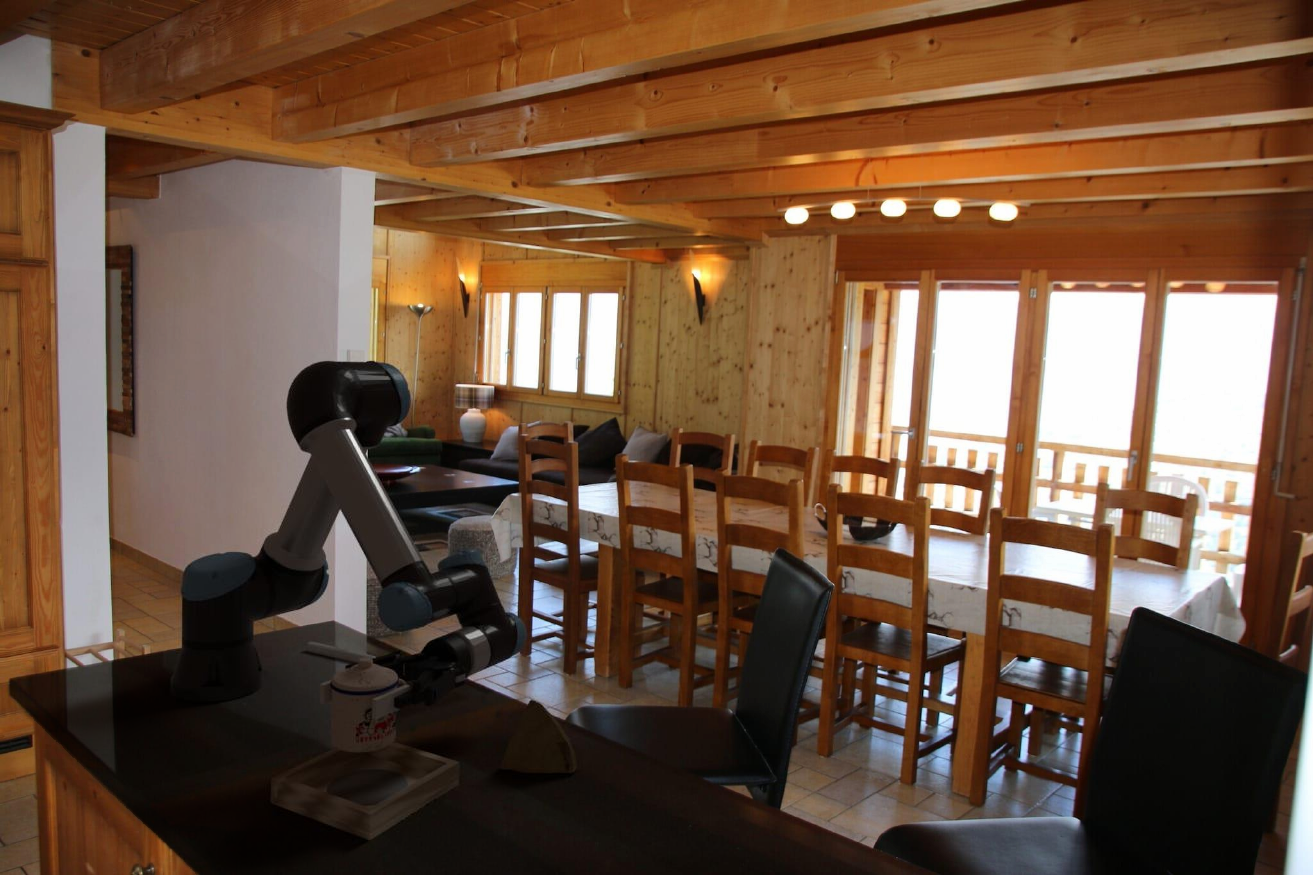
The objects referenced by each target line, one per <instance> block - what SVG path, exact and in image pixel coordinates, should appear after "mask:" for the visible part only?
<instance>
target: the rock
mask: <svg viewBox="0 0 1313 875" xmlns="http://www.w3.org/2000/svg"><path fill="white" fill-rule="evenodd" d="M571 742H572V741H571V739H570V738H569V736H568V735H567V734H566V732H565V729H564V728H563V727H562V726H561V724H560V722H559V721H558V719H556V718H555V717H554V716H553V715H552V713H550V712H549V711H548V709H547V708H546V707H545V706H544V705H543V704H542V703H541V702H538V701H536V700H534V699H530V700H529V701H528V703H527V706H526V707H525V709H524V710H523V712H522V714H521V716H520V717H519V720H518V721H517V724H516V726H515V729H514V731H513V734H511V738H510V739H509V741H508V743H507V747H506V750H505V753H504V756H503V758H502V763H501V765H500V770H502V771H504V770H509V771H515V772H518V773H522V774H555V773H556V774H557V773H559V774H574V772H576V770H577V769H578V765H577V764H578V762H577V756H576V752H575V751H574V749H573V745H572V743H571Z"/></svg>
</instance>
